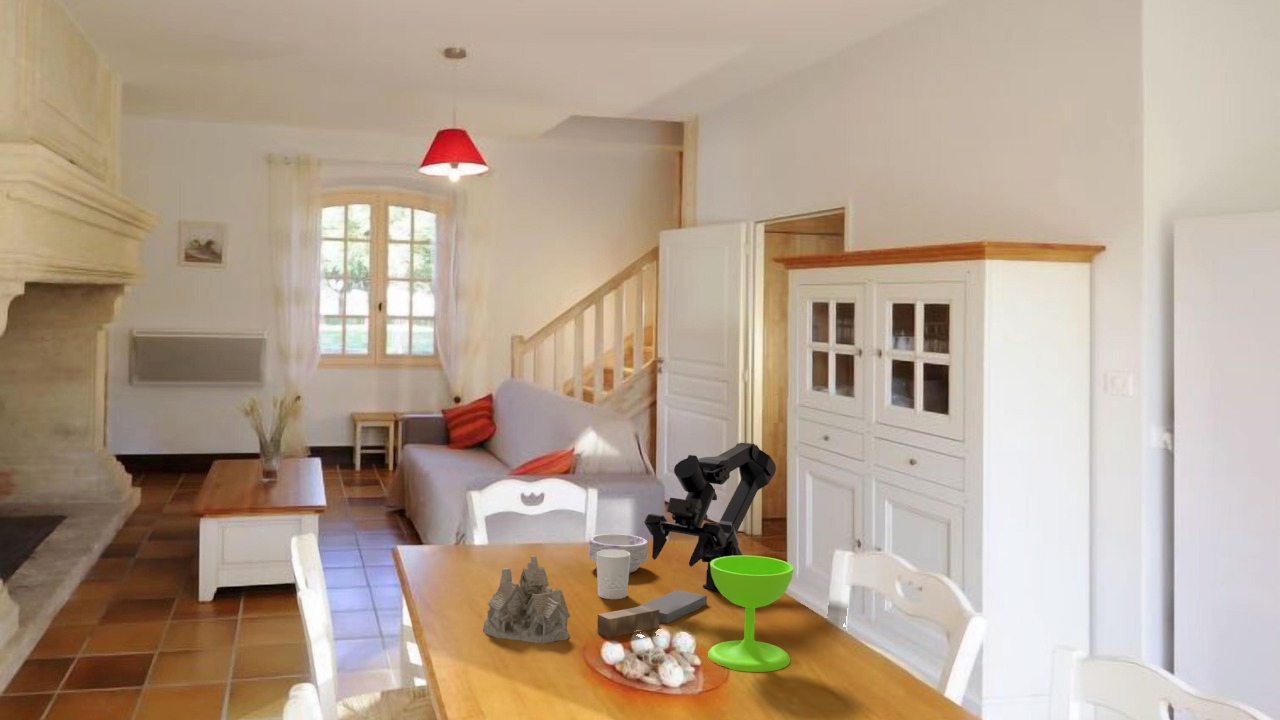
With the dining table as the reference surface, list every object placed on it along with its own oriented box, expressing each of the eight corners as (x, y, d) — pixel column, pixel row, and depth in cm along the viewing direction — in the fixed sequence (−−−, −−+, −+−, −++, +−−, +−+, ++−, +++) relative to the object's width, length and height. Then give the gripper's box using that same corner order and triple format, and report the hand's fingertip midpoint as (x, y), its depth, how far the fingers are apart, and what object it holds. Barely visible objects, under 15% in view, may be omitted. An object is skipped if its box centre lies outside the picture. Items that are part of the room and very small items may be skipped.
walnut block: (647, 605, 218) (597, 614, 210) (659, 609, 215) (609, 619, 207) (647, 623, 218) (597, 633, 210) (658, 628, 215) (608, 638, 207)
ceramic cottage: (477, 624, 213) (482, 554, 212) (551, 620, 220) (557, 551, 218) (497, 652, 199) (504, 577, 197) (577, 646, 205) (583, 574, 204)
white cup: (625, 601, 233) (626, 558, 233) (591, 598, 235) (593, 555, 235) (632, 592, 241) (633, 550, 241) (600, 590, 243) (601, 548, 242)
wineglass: (695, 663, 193) (698, 569, 192) (721, 639, 208) (724, 552, 207) (778, 677, 187) (781, 579, 186) (798, 651, 202) (802, 561, 201)
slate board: (676, 598, 237) (676, 590, 237) (706, 604, 233) (706, 595, 233) (635, 616, 222) (635, 607, 222) (667, 623, 218) (667, 614, 218)
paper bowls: (658, 568, 265) (659, 538, 265) (626, 580, 252) (627, 548, 252) (609, 559, 273) (610, 530, 273) (576, 570, 261) (577, 539, 260)
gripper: (649, 478, 234) (623, 535, 226) (723, 489, 225) (698, 548, 216) (665, 506, 242) (639, 562, 233) (737, 518, 232) (713, 576, 223)
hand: (671, 562), depth 226 cm, fingers open, 9 cm apart
